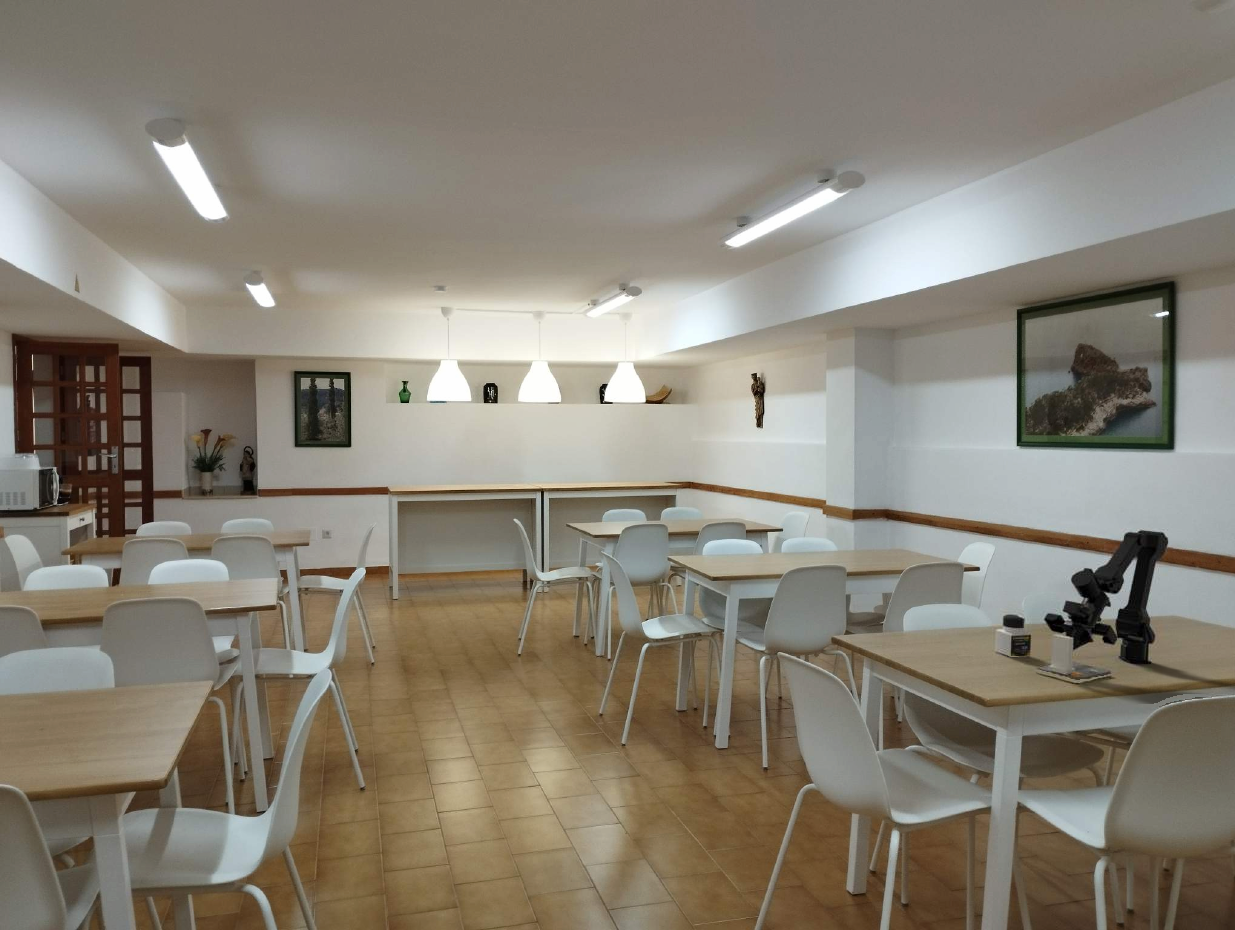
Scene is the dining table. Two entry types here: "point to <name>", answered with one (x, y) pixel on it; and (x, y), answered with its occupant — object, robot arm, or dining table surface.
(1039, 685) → the dining table surface
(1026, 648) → the medicine bottle
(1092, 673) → the switch panel
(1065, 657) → the tab
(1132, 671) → the dining table surface
